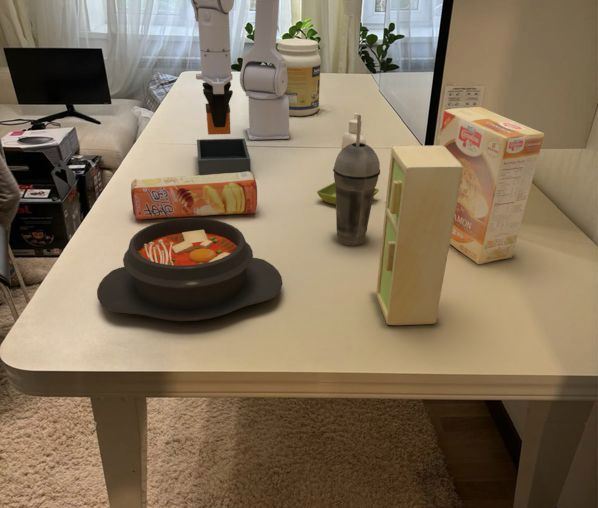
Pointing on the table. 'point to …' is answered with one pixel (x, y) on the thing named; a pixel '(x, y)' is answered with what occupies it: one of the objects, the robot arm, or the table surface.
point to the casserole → (188, 272)
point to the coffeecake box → (489, 179)
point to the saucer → (332, 193)
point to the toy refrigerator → (417, 232)
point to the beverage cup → (355, 189)
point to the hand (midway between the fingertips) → (219, 123)
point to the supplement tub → (301, 75)
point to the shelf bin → (222, 156)
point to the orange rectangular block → (217, 130)
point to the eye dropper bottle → (352, 133)
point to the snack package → (194, 195)
